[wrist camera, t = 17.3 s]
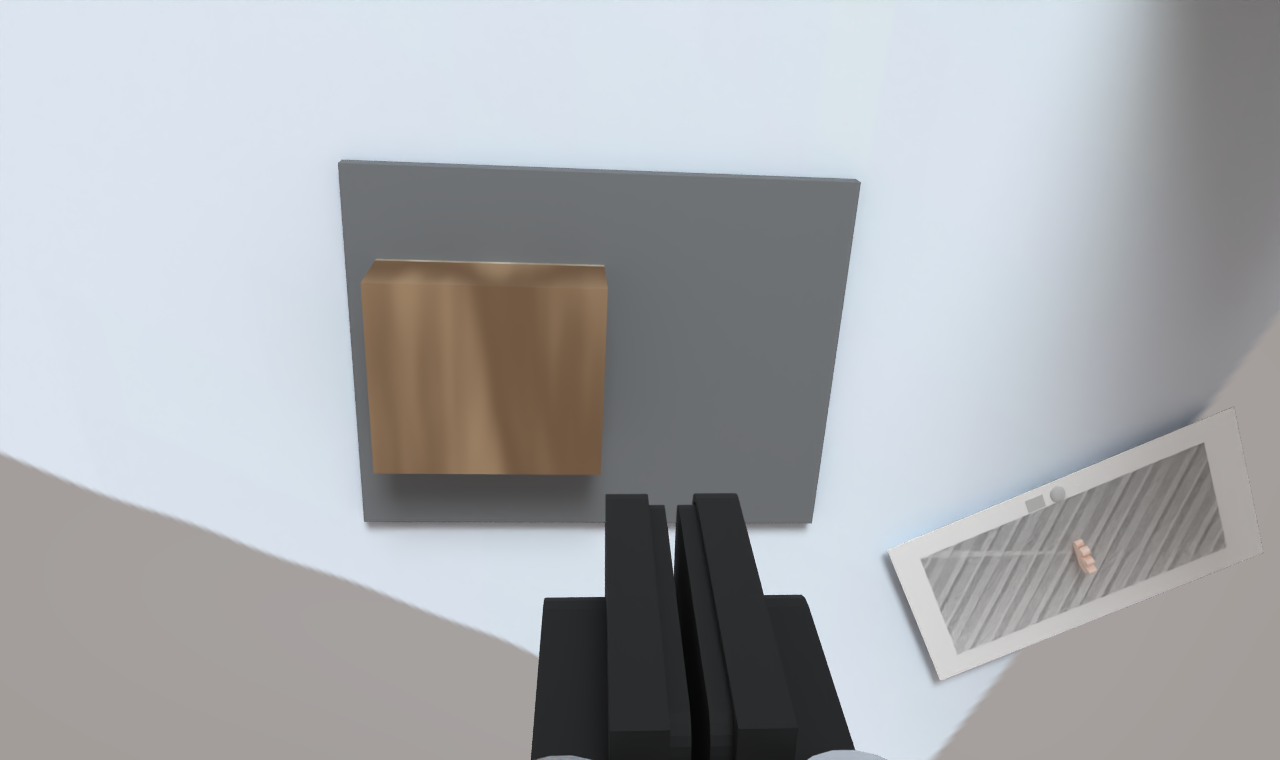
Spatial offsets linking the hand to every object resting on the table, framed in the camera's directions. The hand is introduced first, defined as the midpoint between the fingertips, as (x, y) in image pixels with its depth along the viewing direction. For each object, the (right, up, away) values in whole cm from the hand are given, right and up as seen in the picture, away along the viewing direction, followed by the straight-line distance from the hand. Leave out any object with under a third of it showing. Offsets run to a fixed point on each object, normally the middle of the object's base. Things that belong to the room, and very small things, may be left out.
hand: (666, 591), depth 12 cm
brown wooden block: (-2, +3, +22) cm, 22 cm away
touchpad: (+18, -4, +29) cm, 35 cm away
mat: (-2, +4, +24) cm, 24 cm away
